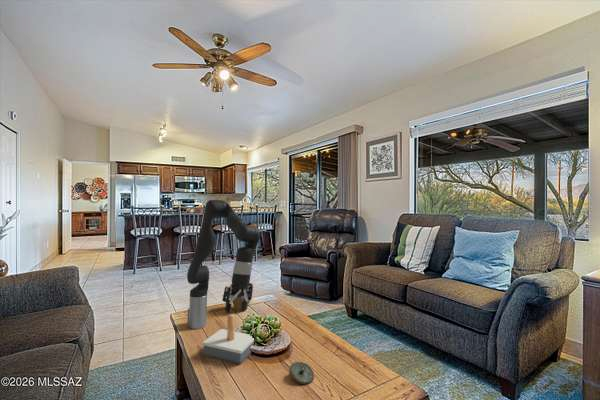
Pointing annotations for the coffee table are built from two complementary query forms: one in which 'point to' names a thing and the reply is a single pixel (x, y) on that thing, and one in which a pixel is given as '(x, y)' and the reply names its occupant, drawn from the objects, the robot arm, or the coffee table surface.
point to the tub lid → (229, 338)
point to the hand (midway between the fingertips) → (235, 311)
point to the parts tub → (227, 354)
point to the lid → (301, 372)
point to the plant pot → (239, 302)
